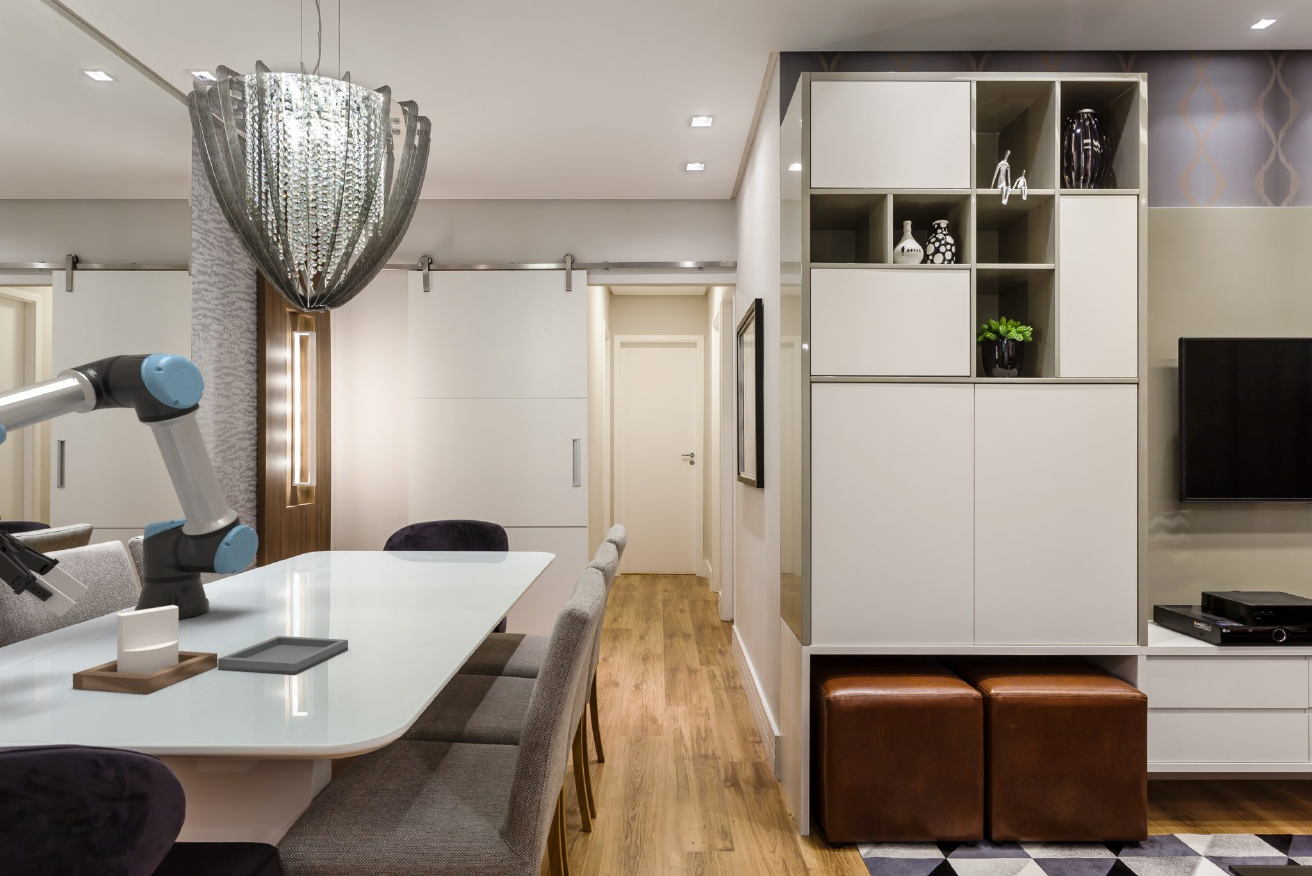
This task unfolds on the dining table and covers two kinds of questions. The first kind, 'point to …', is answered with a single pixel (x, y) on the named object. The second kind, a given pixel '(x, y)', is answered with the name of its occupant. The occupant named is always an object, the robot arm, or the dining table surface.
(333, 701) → the dining table surface
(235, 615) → the dining table surface
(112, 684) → the walnut collar
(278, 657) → the charcoal tray
